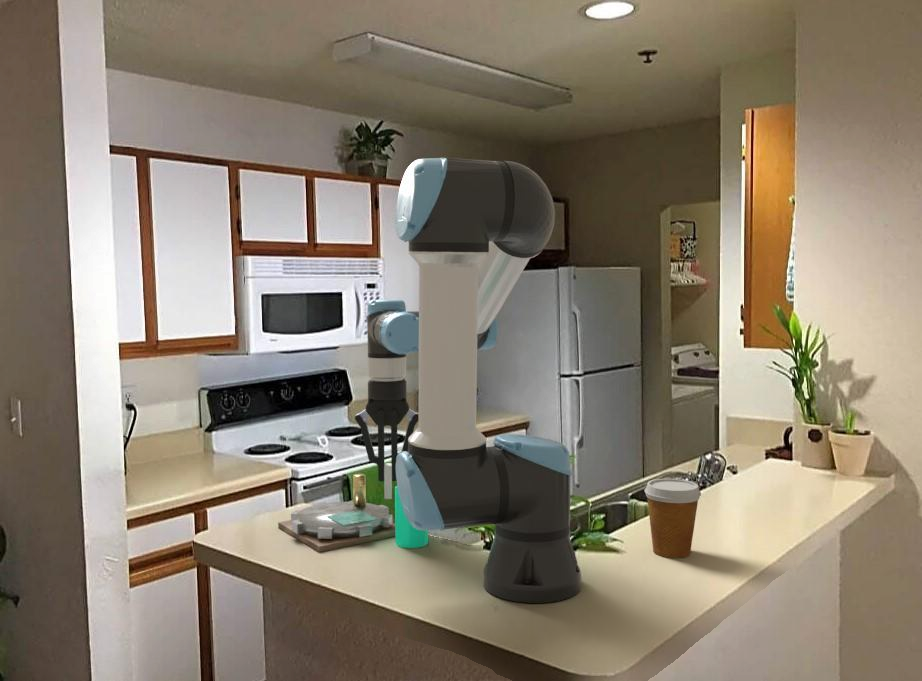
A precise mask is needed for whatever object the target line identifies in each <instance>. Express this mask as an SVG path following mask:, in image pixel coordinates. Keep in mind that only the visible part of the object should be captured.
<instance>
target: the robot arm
mask: <svg viewBox="0 0 922 681" xmlns="http://www.w3.org/2000/svg"><path fill="white" fill-rule="evenodd" d="M397 195H398V196H397V201H396V202H397V203H396V210H395V225H396V226H395V228H396V231H395V232H396V235H397V238H398V239H399V240H401V241H403V242H404V243H407V242H408V255H410V257H411V258H413V260H414V261H415V262H416V263H417V264H418V311H415V310H414V311H407V307H406V303H405V301H404V300H402V299H372V300H370V301H368V302H367V310H366V311H367V312H366V316H365V319H366V324H367V325H366V329H367V330H366V331H367V334H366V335H367V377H368V378H370V379H369V380H368V381H367V403H366V405H365V409H363V410H362V411H361V412H357V413H355V416H354V420H355V422H356V424H358V426H359V428H360V431H361V435H362V438H363V443H364V447H365V451H366V455H367V459H368V461H369V463H371V464H375V465H376V466H377V469H378V470H377V473H378V474H377V475H378V481H379V482H384V483H383V484H384V485H383V487H384V488H383V490H384V500H392V499H393V482H396V484H397V485H396V486H398V492H399V496H400V500H401V504H402V507H403V510H404V513H405V515H406V517H407V520H408V521H409V523H410V524H411V525H412V526H413V527H414V528H416V529H418V530H428V531H437V530H439V531H440V532H441V531H442V532H443V531H445V530H450V529H451V530H452V529H460V528H469V527H470V528H471V527H478V526H489V525H494V536H493V541H492V544H491V547H490V550H489V554H488V558H487V560H486V562H487V563H485V566H484V568H483V587H484V589H485V590H486V591H487V592H488V593H490V594H491V595H493V596H495V597H498V598H500V599H504V600H507V601H512V602H519V603H525V604H526V603H527V604H528V603H529V604H542V603H543V604H545V603H553V602H554V603H555V602H560V601H563V600H567V599H569V598H572V597H574V596H575V595H577V594H578V593H579V592H580V591H581V588H582V572H581V569H580V565H578V564H579V563H578V559H577V555H576V553H575V550H574V546H573V543H572V539H571V527H570V526H571V481H572V480H571V476H572V474H573V473H572V471H571V470H572V469H571V468H572V467H571V459H570V456H571V455H570V451H569V449H568V447H567V446H566V445H564V444H563V443H561V442H560V441H556V440H553V439H549V438H545V437H540V436H534V435H527V434H519V433H518V434H516V433H515V434H514V433H504V434H498V435H496V436H495V437H494V440H493V442H492V443H493V445H492V446H487V437H486V436H485V435H484V434H483V433H482V432H481V431H480V430H479V429H478V427H477V398H478V397H477V395H478V394H477V392H478V390H477V389H478V388H477V386H478V382H477V381H478V379H477V378H478V351H480V350H481V351H482V350H490V349H492V348H494V347H495V345H496V343H497V341H498V340H497V339H498V338H497V337H498V335H499V325H498V324H499V323H498V318H497V315H498V313H499V312H500V310H501V309H502V307H503V305H504V304H505V301H506V300H507V298H508V296H509V295H510V293H511V292H512V291H513V289H514V287H515V285H516V283H517V281H518V279H519V278H520V277H521V274H522V273H523V271H524V269H525V268H526V266H527V265H528V263H529V261H530V259H532V258H535V257H536V256H538V255H539V254H541V253H542V251H543V250H544V248H545V247H546V246H547V244H548V242H549V240H550V239H551V236H552V233H553V231H554V226H555V216H556V212H555V211H556V210H555V205H554V200H553V196H552V195H551V192H550V190H549V188H548V187H547V184H546V183H545V182H544V181H543V179H542V178H541V177H540V176H539V175H538V174H537V173H536V172H535V171H534V170H532V169H530V168H529V167H528V166H526V165H524V164H522V163H518V162H515V161H512V160H511V161H510V160H509V161H508V160H487V159H486V160H483V159H468V158H467V159H466V158H454V157H453V158H452V157H433V158H431V157H430V158H418V159H416V160H414V161H412V162H411V163H410V165H409V166H408V167H407V168H406V170H405V171H404V174H403V176H402V180H401V183H400V187H399V190H398V194H397ZM413 353H418V411H416V412H415V411H414V410H412V409H411V408H410V406H409V403H408V401H407V380H406V379H405V377H406V376H407V355H410V354H413ZM406 415H407V417H406V418H407V421H408V423H407V428H406V431H405V434H404V439H403V444H402V448H401V452H399V453H398V425H399V424H400V423H401V422H402V421H403V420H404V418H405V416H406ZM368 416H369V417H370V418H371V420H372V421H373V422H374V424H375V425H377V455H376V454H375V450H374V446H373V444H372V443H373V442H372V440H371V435H370V432H369V428H368V427H369V426H368V423H367V422H368ZM417 423H418V426H417V428H416V429H415V427H416V425H417ZM386 426H387V427H388V426H390V439H391V440H390V442H391V444H390V446H391V447H390V448H391V449H390V450H391V451H390V454H391V455H390V457H391V459H390V462H391V463H389V462H387V463H386V462H385V427H386Z"/></svg>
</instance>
